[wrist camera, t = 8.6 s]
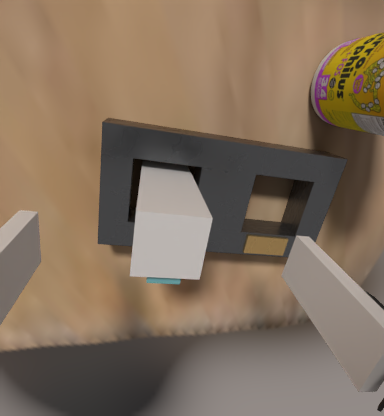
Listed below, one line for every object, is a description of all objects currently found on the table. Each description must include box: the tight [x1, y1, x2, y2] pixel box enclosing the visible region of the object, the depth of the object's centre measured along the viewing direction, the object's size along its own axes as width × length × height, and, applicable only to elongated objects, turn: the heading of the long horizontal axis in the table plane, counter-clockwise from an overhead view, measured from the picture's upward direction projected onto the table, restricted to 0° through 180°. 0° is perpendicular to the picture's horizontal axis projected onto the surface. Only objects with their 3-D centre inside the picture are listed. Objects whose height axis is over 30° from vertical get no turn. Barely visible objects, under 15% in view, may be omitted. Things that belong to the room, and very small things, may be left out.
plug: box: [130, 160, 213, 284], centre depth 20 cm, size 5×4×11 cm
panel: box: [98, 118, 347, 257], centre depth 24 cm, size 10×20×3 cm, turn 80°
